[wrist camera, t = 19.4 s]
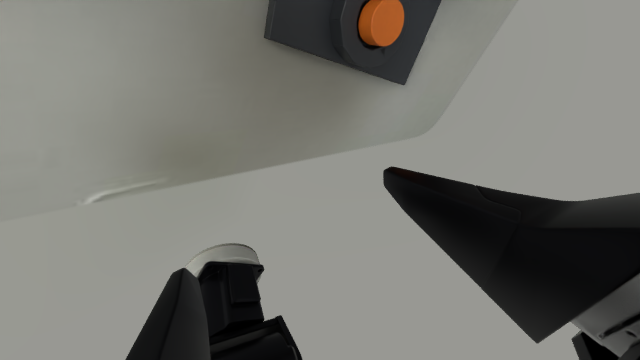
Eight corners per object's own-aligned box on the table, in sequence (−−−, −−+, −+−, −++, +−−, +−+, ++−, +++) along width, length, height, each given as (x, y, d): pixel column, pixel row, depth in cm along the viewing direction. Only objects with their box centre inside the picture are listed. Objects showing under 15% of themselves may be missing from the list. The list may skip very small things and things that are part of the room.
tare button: (379, 49, 17) (393, 51, 16) (352, 37, 15) (365, 39, 14) (395, 7, 15) (411, 6, 14) (366, -10, 14) (381, -12, 13)
